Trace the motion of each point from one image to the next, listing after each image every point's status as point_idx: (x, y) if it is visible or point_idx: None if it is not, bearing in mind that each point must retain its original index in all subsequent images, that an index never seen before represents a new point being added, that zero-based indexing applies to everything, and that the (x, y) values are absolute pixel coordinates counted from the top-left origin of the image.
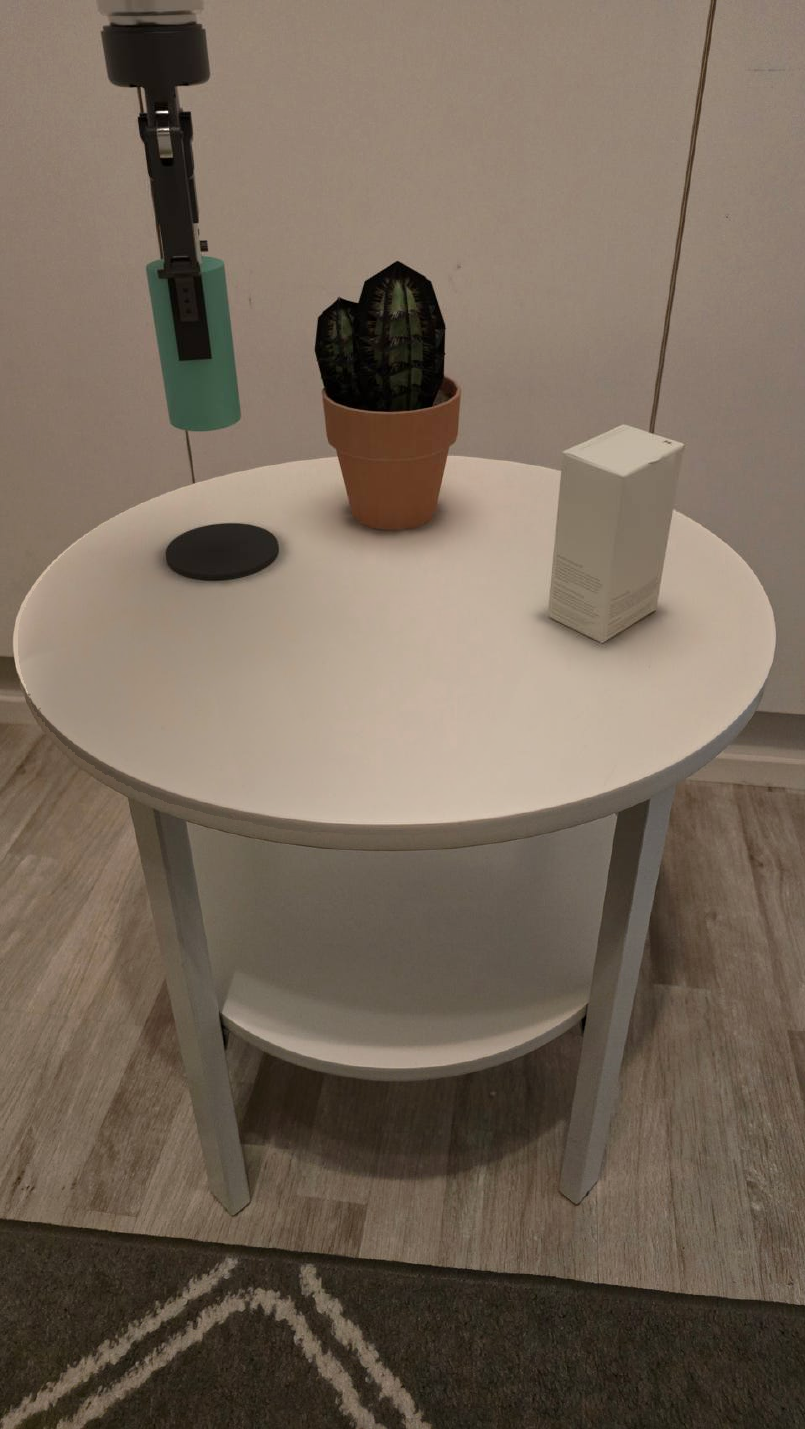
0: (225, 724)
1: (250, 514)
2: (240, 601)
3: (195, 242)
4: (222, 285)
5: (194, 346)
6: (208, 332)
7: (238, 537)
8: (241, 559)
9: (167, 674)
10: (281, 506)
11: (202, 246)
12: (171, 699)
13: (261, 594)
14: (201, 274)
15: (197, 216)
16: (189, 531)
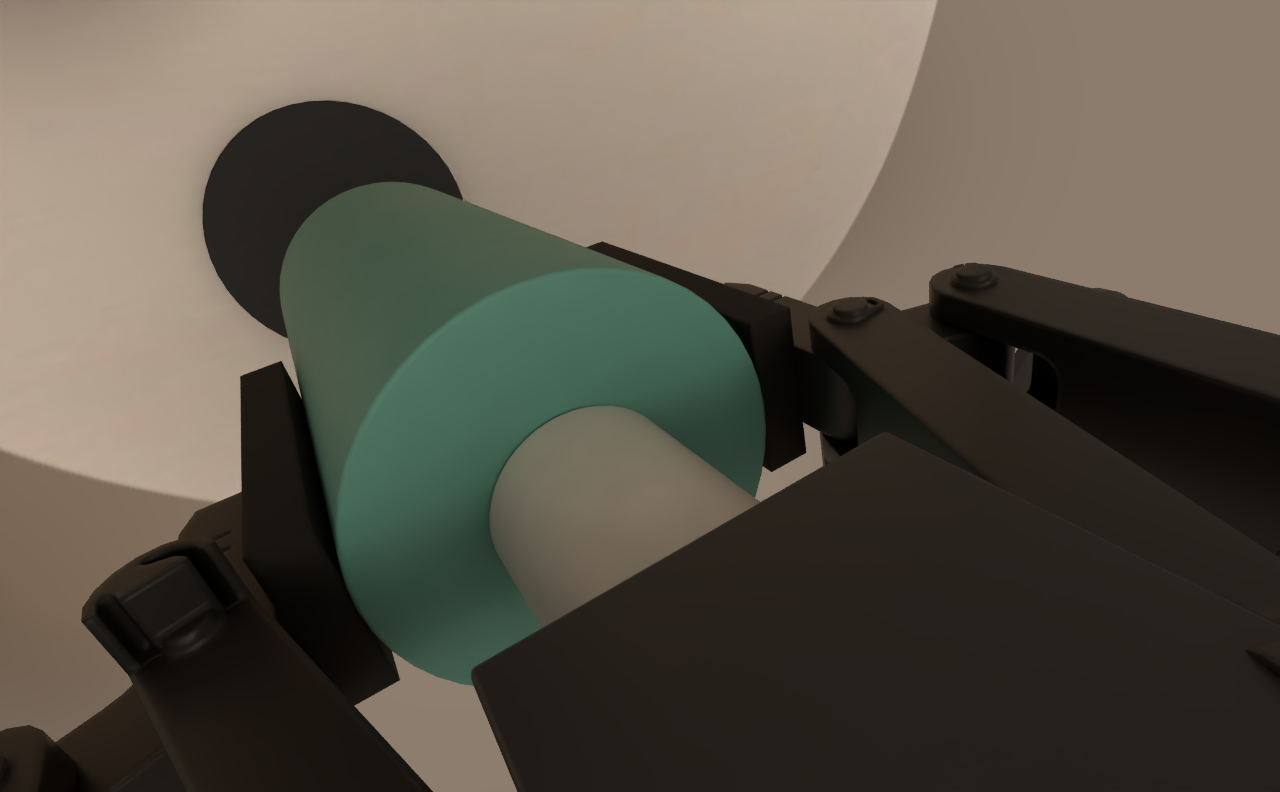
0: (815, 86)
1: (100, 225)
2: (529, 141)
3: (899, 374)
4: (578, 250)
5: None
6: (647, 258)
7: (286, 211)
8: (394, 174)
9: (724, 200)
10: (3, 147)
11: (205, 590)
12: (771, 175)
13: (499, 104)
14: (755, 322)
15: (924, 453)
16: (285, 332)
